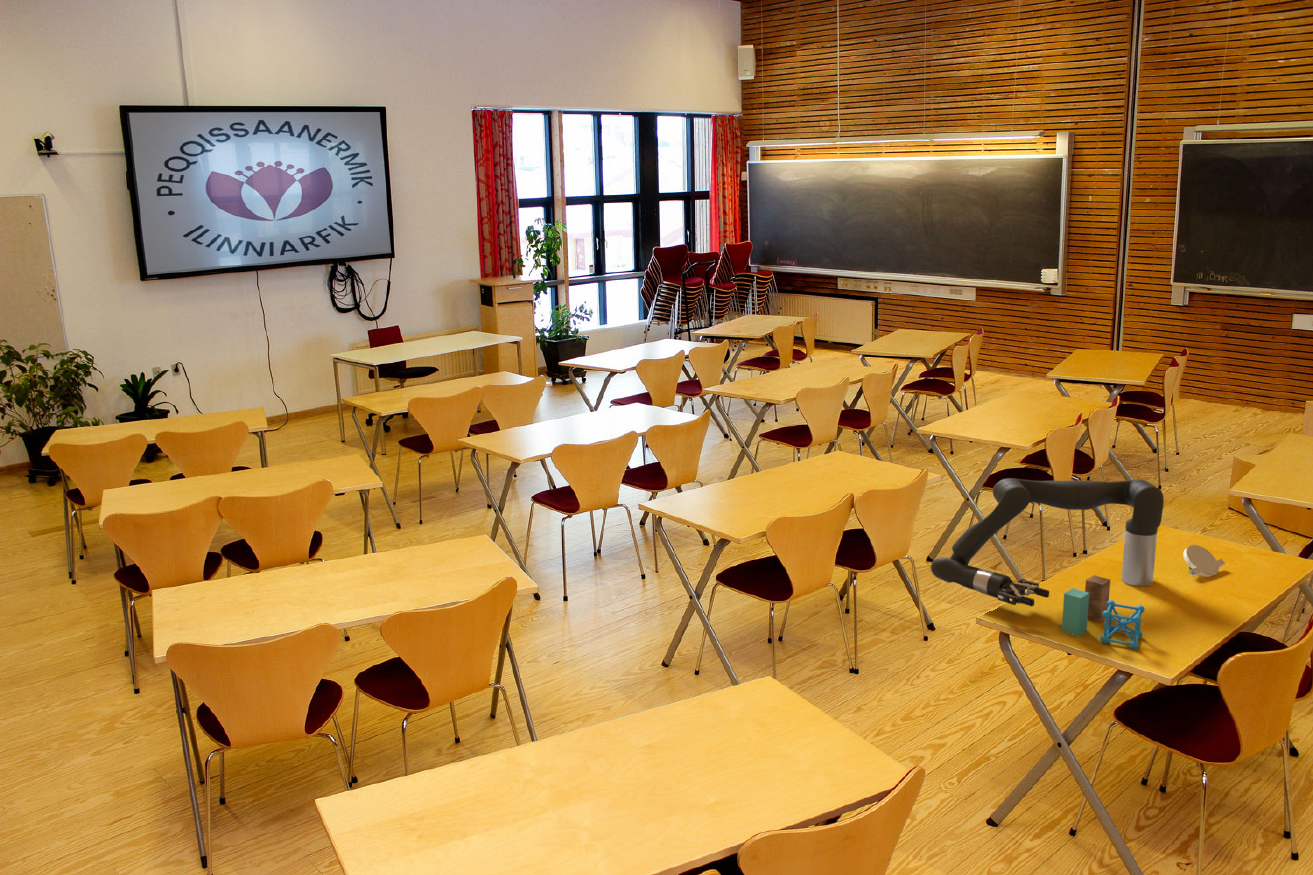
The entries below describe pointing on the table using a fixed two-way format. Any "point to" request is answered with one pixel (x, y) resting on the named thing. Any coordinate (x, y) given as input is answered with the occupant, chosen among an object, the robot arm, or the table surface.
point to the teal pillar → (1075, 612)
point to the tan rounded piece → (1201, 561)
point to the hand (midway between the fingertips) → (1041, 598)
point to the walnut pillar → (1097, 597)
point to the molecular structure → (1122, 624)
